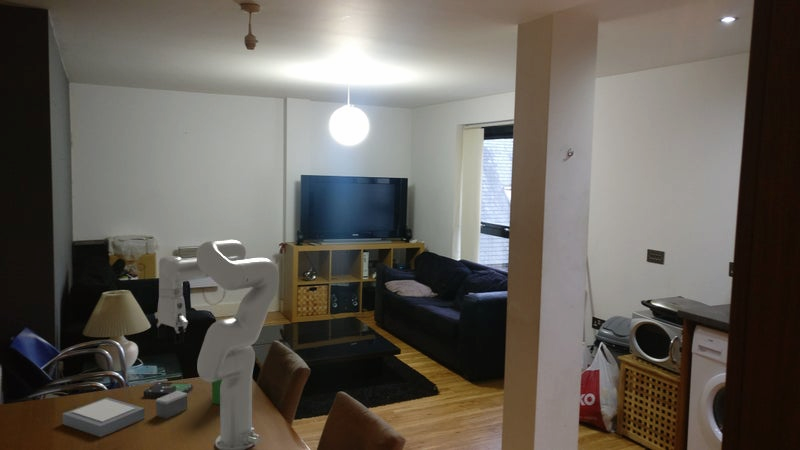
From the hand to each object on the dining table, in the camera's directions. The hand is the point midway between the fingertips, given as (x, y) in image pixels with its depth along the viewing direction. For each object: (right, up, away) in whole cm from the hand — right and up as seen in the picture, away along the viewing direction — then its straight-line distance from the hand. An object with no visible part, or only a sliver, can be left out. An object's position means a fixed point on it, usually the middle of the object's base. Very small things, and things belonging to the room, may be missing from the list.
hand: (170, 340), depth 190 cm
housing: (-1, -26, +3) cm, 26 cm away
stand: (-21, -26, -4) cm, 34 cm away
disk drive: (-10, -25, +21) cm, 34 cm away
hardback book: (+14, -25, +20) cm, 35 cm away
